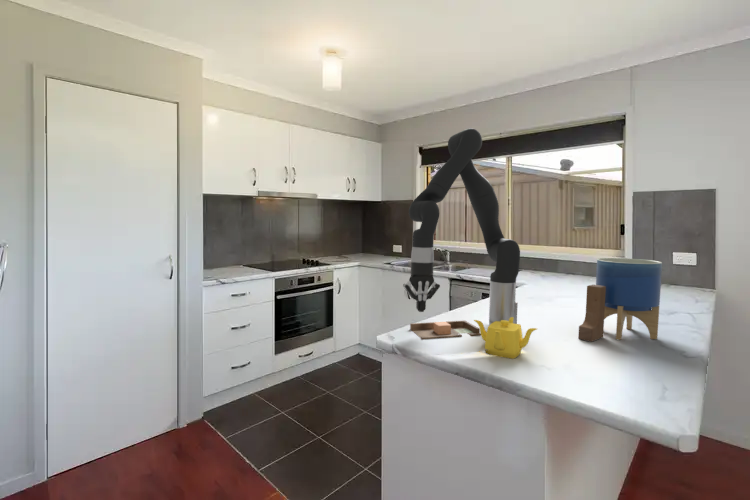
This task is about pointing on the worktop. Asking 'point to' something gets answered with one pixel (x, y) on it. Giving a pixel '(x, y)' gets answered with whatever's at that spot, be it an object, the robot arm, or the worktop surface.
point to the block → (442, 328)
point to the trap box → (456, 328)
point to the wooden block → (593, 314)
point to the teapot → (504, 338)
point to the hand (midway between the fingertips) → (420, 311)
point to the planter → (631, 291)
